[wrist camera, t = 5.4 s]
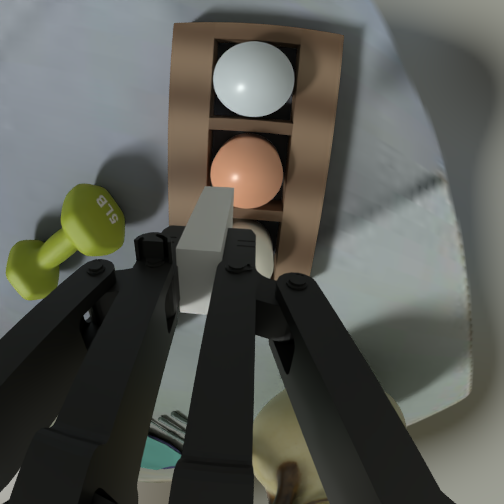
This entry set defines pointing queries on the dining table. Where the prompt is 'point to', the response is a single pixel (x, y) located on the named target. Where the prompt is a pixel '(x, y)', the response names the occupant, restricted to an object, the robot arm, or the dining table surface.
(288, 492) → the pitcher
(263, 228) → the cream button
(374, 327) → the dining table surface
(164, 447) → the cutlery set
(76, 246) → the dumbbell
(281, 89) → the grey button
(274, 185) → the terracotta button
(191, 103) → the wooden compartment tray
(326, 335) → the robot arm
